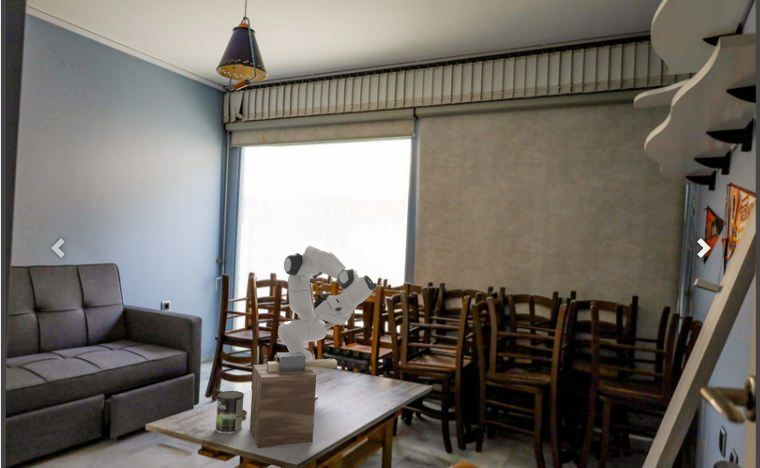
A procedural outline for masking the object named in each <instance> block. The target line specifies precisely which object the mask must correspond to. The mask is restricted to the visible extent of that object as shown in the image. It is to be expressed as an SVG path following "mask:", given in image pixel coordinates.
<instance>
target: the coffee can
mask: <svg viewBox="0 0 760 468" xmlns="http://www.w3.org/2000/svg"><path fill="white" fill-rule="evenodd" d="M244 397H245V393H243V392H242V391H239V390H238V391H237V390H227V391H226V390H225V391H221V392H219V393H218V394H217V406H216V421H215V432H217V433H218V434H222V435H224V434H225V435H227V434H229V435H230V434H231V435H233V434H236V433H239V432H240V431H242V428H243V427H242V426H243V425H242V423H243V418H242V412H243V410H244Z"/></svg>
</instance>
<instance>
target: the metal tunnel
mask: <svg viewBox="0 0 760 468" xmlns="http://www.w3.org/2000/svg"><path fill="white" fill-rule="evenodd" d="M305 358H306V356H305V355H304V354H303V353H302V352H289V351H288V352H287V351H286V352H285V351H284V352H276V358H275V360H276V361H280V367H279V372H296V371H305Z"/></svg>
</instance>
